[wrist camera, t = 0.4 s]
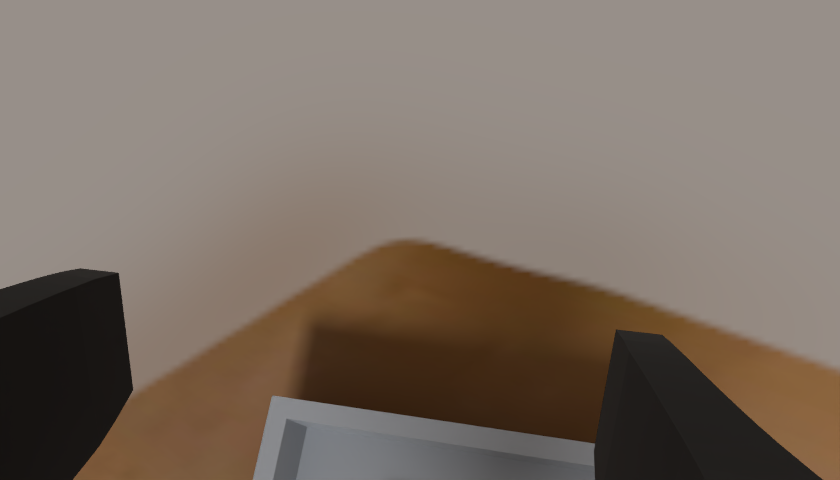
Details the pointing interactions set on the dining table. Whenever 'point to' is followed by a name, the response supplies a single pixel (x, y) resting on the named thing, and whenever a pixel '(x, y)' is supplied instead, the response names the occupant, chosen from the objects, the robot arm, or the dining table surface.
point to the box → (406, 448)
